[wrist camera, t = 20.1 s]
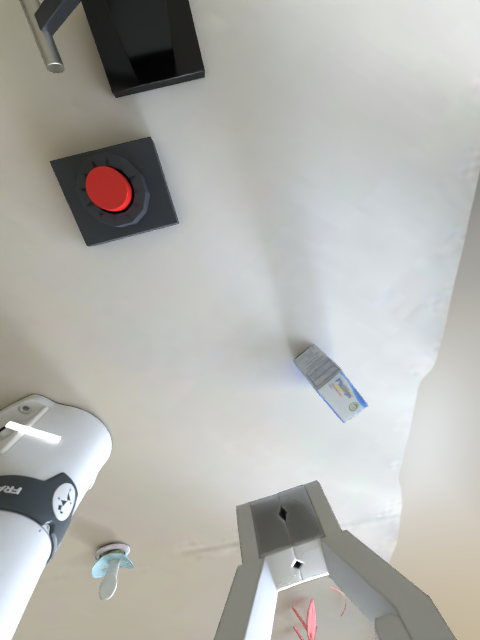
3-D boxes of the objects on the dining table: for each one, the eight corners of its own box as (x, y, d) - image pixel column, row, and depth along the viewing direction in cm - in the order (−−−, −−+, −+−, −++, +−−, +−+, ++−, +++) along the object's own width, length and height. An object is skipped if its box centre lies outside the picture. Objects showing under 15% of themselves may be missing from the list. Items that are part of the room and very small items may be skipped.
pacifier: (90, 546, 48) (100, 567, 49) (73, 589, 42) (86, 611, 44) (129, 536, 48) (138, 557, 50) (118, 577, 42) (129, 599, 44)
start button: (102, 215, 28) (95, 214, 26) (85, 175, 26) (78, 171, 25) (138, 206, 28) (133, 204, 26) (123, 166, 27) (118, 161, 25)
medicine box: (292, 359, 41) (314, 390, 33) (314, 342, 40) (342, 369, 32) (317, 390, 43) (344, 425, 35) (338, 374, 43) (370, 406, 35)
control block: (93, 245, 32) (79, 247, 28) (59, 165, 29) (37, 155, 25) (179, 223, 32) (175, 221, 29) (153, 142, 29) (146, 128, 26)
